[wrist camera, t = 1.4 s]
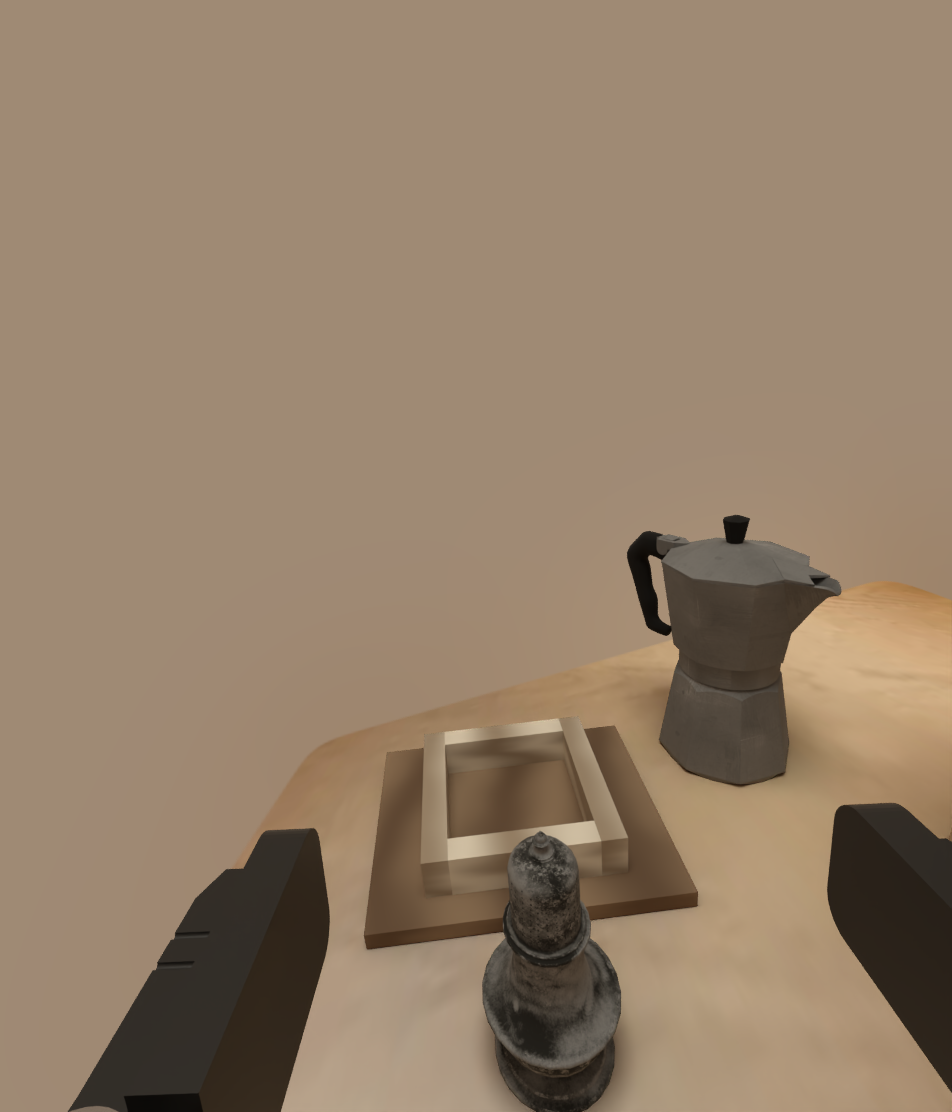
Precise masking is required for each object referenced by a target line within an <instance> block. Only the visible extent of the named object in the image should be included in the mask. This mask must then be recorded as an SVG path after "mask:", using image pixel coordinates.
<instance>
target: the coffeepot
mask: <svg viewBox="0 0 952 1112" xmlns="http://www.w3.org/2000/svg"><path fill="white" fill-rule="evenodd" d="M749 520H750V518H746V517H744V516H740V515H733V516H728V517H725V518H724V519H723V523H724V529H725V535H726V538H713V539H707V540H701V541H695V542H689V541H688V540H687V539H686V538H682V537H677V536H673V535H662V534H659V533H655V532H651V531H646V532H643V533H642V534H641V535H640V536H639V537H638V539H636V541H634V542H633V544H632V545H631V546H630V548H629V549H628V552H627V559H628V563H629V566H630V569H631V572H632V575H633V579H634V583H635V586H636V591H637V594H638V598H639V601H640V605H641V608H642V611H643V615H644V618H645V622H646V625H647V627H648V628H649V629H651V630H653V631H655V632H657V633H659V634H662V635H665V636H667V635H669V634H670V632H671V631H672V636H673V643H674V645H675V646H676V647H677V648H678V649H679V660H678V663H677V665H676V668H675V671H674V675H673V680H672V684H671V689H670V693H669V698H668V702H667V707H666V711H665V715H664V720H663V724H662V729H661V733H660V738H659V740H660V742H661V743H662V744H663V746H664V747H665V749H666V750H667V751H668V753H669V754H670V755H671V757H672V758H673V759H674V760H675V761H676V762H677V763H678V764H680V765H681V766H683V767H684V768H685V769H686V770H688V771H691V772H693V773H695V774H697V775H699V776H701V777H704V778H707V779H710V780H713V781H718V782H723V783H730V784H753V783H759V782H763V781H766V780H768V779H771V778H773V777H774V776H776V775H777V774H780V773H783V772H785V769H786V761H787V753H788V746H789V738H788V729H787V720H786V710H785V701H784V692H783V682H782V673H781V671H780V667H781V663H783V661H784V657H785V654H786V650H787V647H788V643H789V640H790V636H791V633H792V632H793V631H794V630H795V629H796V628H797V627H798V626H799V625H800V624H801V623H802V622H803V621H804V620H805V618H806V617H807V616H808V615H809V614H810V613H811V612H812V611H813V610H814V609H815V608H816V607H817V606H818V605H819V604H821V603H822V602H823V601H824V600H825V599H827V598H828V597H832V596H838V595H840V594H841V587H840V584H839V582H838V581H837V580H835V579H832V578H829V577H830V575H828V574H826V573H823V572H821V571H819V570H816V569H814V568H812V567H809V556H807V555H804V554H802V553H799V552H796V551H794V550H791V549H789V548H786V547H783V546H781V545H778V544H775V543H773V542H768V541H767V542H766V541H753V540H744V538H745V534H746V531H747V527H748V524H749ZM649 555H653V556H655V557H657V558H659V559H661V560H662V561H661V563H662V567H663V573H664V581H665V587H666V593H667V600H668V608H669V615H670V622H671V626H669V625H667V624H665V623H664V622H662V621H661V620H660V618H659V616H658V599H657V595H656V592H655V590H654V588H653V585H652V577H651V568H650V564H649V560H648V556H649Z"/></svg>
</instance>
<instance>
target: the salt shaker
mask: <svg viewBox="0 0 952 1112" xmlns="http://www.w3.org/2000/svg"><path fill="white" fill-rule="evenodd" d="M507 873H508V884H509V895H510V900H509V902H508V903H507V905H506V907H505V910H504V914H503V932H504V935H505V939H504V940H503V941H502V943H501V944H500V945H499V946H498V947H497V948H496V949H495V950H494V952H493V954H492V956H491V958H490V960H489V962H488V964H487V966H486V970H485V974H484V978H483V982H482V987H483V1005H484V1009H485V1013H486V1016H487V1020H488V1023H489V1025H490V1026H491V1028H492V1030H493V1032H494V1034H495V1044H496V1057H497V1061H498V1064H499V1068H500V1072H501V1074H502V1076H503V1078H504V1080H505V1082H506V1083H507V1085H508V1087H509V1089H510V1090H511V1091H512V1092H513V1093H514V1094H515V1096H516V1097H517V1098H518V1099H519V1100H520V1101H521V1102H522V1103H523V1104H525V1105H527V1106H528V1107H530V1108H531V1109H533V1110H535V1111H536V1112H581V1111H584V1110H586V1109H588V1108H589V1107H590V1106H591V1105H592V1104H594V1103H595V1102H596V1101H597V1100H598V1099H599V1098H600V1097H601V1095H602V1094H603V1092H604V1090H605V1089H606V1087H607V1086H608V1084H609V1082H610V1078H611V1075H612V1071H613V1068H614V1049H615V1046H614V1041H613V1035H614V1033H615V1031H616V1027H617V1024H618V1021H619V1017H620V1014H621V990H620V986H619V982H618V977H617V973H616V971H615V969H614V968H613V966H612V964H611V962H610V960H609V958H608V956H607V955H606V954H605V953H604V951H603V950H602V949H601V948H600V947H599V946H598V944H597V943H596V942H594V941H593V940H592V939H590V931H591V922H590V918H589V913H588V911H587V909H586V907H585V905H584V903H583V902H582V901H581V900H580V880H579V868H578V864H577V860H576V858H575V856H574V854H573V852H572V850H571V849H570V848H569V847H568V846H567V845H566V844H564V843H563V842H562V841H560V840H559V839H557V838H555V837H552V836H549V835H546V834H545V833H543V832H542V831H539V832H537V833H536V834H535V835H534V836H530V837H528V838H526V839H524V840H522V841H521V842H520V843H519V844H518V845H517V846H516V847H515V848H514V849H513V851H512V852H511V854H510V857H509V861H508V866H507Z"/></svg>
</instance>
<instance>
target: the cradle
mask: <svg viewBox="0 0 952 1112" xmlns="http://www.w3.org/2000/svg"><path fill="white" fill-rule="evenodd" d="M539 831H542V832H543V833H545V834H546V835H549V836H552V837H555V838H557V839H559V840H560V841H562V842H563V843H564V844H566V845H567V846H568V847H569V848H570V849H571V850H572V852H573V854H574V856H575V858H576V860H577V864H578V868H579V880H580V900H581V901H582V902H583V903H584V905H585V907H586V909H587V911H588V913H589V918H590V920H593V919H601V918H609V917H616V916H624V915H632V914H639V913H647V912H655V911H662V910H670V909H678V908H685V907H693V906H697V901H698V891H697V889H696V887H695V885H694V883H693V881H692V879H691V877H690V875H689V873H688V871H687V869H686V867H685V865H684V863H683V861H682V859H681V857H680V855H679V853H678V851H677V849H676V847H675V845H674V843H673V841H672V839H671V837H670V835H669V833H668V831H667V829H666V827H665V825H664V823H663V821H662V819H661V817H660V815H659V813H658V811H657V809H656V807H655V805H654V803H653V801H652V799H651V797H650V795H649V793H648V791H647V789H646V787H645V785H644V783H643V781H642V779H641V777H640V775H639V773H638V771H637V769H636V767H635V765H634V763H633V761H632V759H631V757H630V755H629V753H628V751H627V749H626V747H625V745H624V743H623V741H622V739H621V737H620V735H619V733H618V731H617V729H616V727H615V726H607V727H598V728H590V729H583V726H582V724H581V721H580V719H579V717H578V716H577V717H568V718H560V719H551V720H543V721H534V722H526V723H517V724H508V725H500V726H491V727H483V728H474V729H466V730H457V731H449V732H440V733H432V734H424V748H421V749H412V750H404V751H395V752H387V755H386V763H385V771H384V779H383V787H382V795H381V803H380V811H379V819H378V827H377V835H376V843H375V851H374V859H373V867H372V875H371V883H370V891H369V899H368V907H367V915H366V923H365V931H364V938H365V943H366V948H367V949H372V948H379V947H387V946H395V945H402V944H410V943H418V942H425V941H433V940H440V939H448V938H456V937H463V936H471V935H479V934H486V933H494V932H502V931H503V914H504V910H505V907H506V905H507V903H508V902H509V900H510V895H509V884H508V873H507V866H508V861H509V857H510V854H511V852H512V851H513V849H514V848H515V847H516V846H517V845H518V844H519V843H520V842H521V841H522V840H524V839H526V838H528V837H530V836H534V835H535V834H536V833H537V832H539Z"/></svg>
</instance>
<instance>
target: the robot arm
mask: <svg viewBox="0 0 952 1112" xmlns="http://www.w3.org/2000/svg"><path fill="white" fill-rule="evenodd" d="M827 893H828V901H829V906H830V910H831V913H832V916H833V919H834V921H835V924H836V926H837V928H838V930H839V932H840V934H841V936H842V937H843V939H844V940H845V942H846V943H847V944H848V946H849V947H850V949H851V950H852V952H853V953H854V954H855V956H856V957H857V959H858V960H859V962H860V963H861V964H862V966H863V967H864V969H865V970H866V971H867V973H868V974H869V976H870V977H871V979H872V980H873V981H874V983H875V984H876V986H877V987H878V989H879V990H880V991H881V993H882V994H883V996H884V997H885V999H886V1000H887V1001H888V1003H889V1004H890V1006H891V1007H892V1008H893V1010H894V1011H895V1013H896V1014H897V1016H898V1017H899V1018H900V1020H901V1021H902V1023H903V1024H904V1026H905V1027H906V1028H907V1030H908V1031H909V1033H910V1034H911V1036H912V1037H913V1038H914V1040H915V1041H916V1043H917V1044H918V1045H919V1047H920V1048H921V1050H922V1051H923V1053H924V1054H925V1055H926V1057H927V1058H928V1060H929V1061H930V1063H931V1064H932V1065H933V1067H934V1068H935V1070H936V1071H937V1073H938V1074H939V1075H940V1077H941V1078H942V1080H943V1081H944V1082H945V1084H946V1085H947V1087H948V1088H949V1090H950V1091H951V1092H952V829H951V833H950V838H949V840H948V839H938V838H937V837H936V836H935V835H934V834H933V833H932V832H931V831H930V830H929V829H927V828H926V827H925V826H924V825H923V824H922V823H921V822H920V821H919V820H918V819H916V818H915V817H914V816H913V815H912V814H911V813H910V812H909V811H908V810H906V809H905V808H904V807H902V806H901V805H899V804H896V803H878V804H857V805H843V806H840V807H839V808H838V809H837V811H836V813H835V818H834V826H833V836H832V846H831V856H830V866H829V876H828V886H827ZM329 925H330V914H329V904H328V897H327V890H326V883H325V876H324V869H323V862H322V855H321V848H320V841H319V836H318V833H317V831H316V830H315V829H314V828H310V829H288V830H268V831H265V832H264V833H263V834H262V835H261V837H260V838H259V840H258V842H257V844H256V846H255V848H254V850H253V851H252V853H251V855H250V857H249V859H248V861H247V863H246V865H245V867H244V869H226V870H225V871H224V872H223V873H222V874H221V875H220V876H219V877H218V878H217V879H216V880H215V881H213V882H212V883H211V884H210V885H209V886H208V887H207V888H206V889H205V890H204V891H203V892H202V893H201V894H200V895H199V896H198V897H197V898H196V899H195V900H194V902H193V904H192V905H191V907H190V909H189V910H188V912H187V914H186V915H185V917H184V919H183V920H182V922H181V924H180V925H179V927H178V929H177V930H176V932H175V938H174V940H171V941H170V943H169V944H168V946H167V947H166V949H165V951H164V952H163V954H162V956H161V958H160V959H159V961H158V962H157V963H158V965H157V969H156V970H153V971H152V973H151V974H150V976H149V978H148V979H147V981H146V983H145V984H144V986H143V988H142V990H141V991H140V993H139V994H138V996H137V998H136V999H135V1001H134V1003H133V1004H132V1006H131V1008H130V1010H129V1011H128V1013H127V1015H126V1016H125V1018H124V1020H123V1021H122V1023H121V1025H120V1026H119V1028H118V1030H117V1031H116V1033H115V1035H114V1037H113V1038H112V1040H111V1041H110V1043H109V1045H108V1047H107V1048H106V1050H105V1052H104V1053H103V1055H102V1057H101V1058H100V1060H99V1062H98V1064H97V1065H96V1067H95V1068H94V1070H93V1072H92V1074H91V1075H90V1077H89V1078H88V1080H87V1082H86V1084H85V1085H84V1087H83V1089H82V1090H81V1092H80V1094H79V1095H78V1097H77V1098H76V1100H75V1101H74V1103H73V1104H72V1106H71V1108H70V1109H69V1111H68V1112H281V1109H282V1105H283V1102H284V1098H285V1095H286V1091H287V1088H288V1084H289V1081H290V1077H291V1074H292V1071H293V1067H294V1064H295V1060H296V1057H297V1053H298V1050H299V1046H300V1043H301V1039H302V1036H303V1032H304V1029H305V1025H306V1022H307V1018H308V1015H309V1011H310V1008H311V1005H312V1001H313V998H314V994H315V991H316V987H317V984H318V980H319V977H320V973H321V970H322V966H323V963H324V959H325V955H326V951H327V945H328V938H329Z"/></svg>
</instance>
